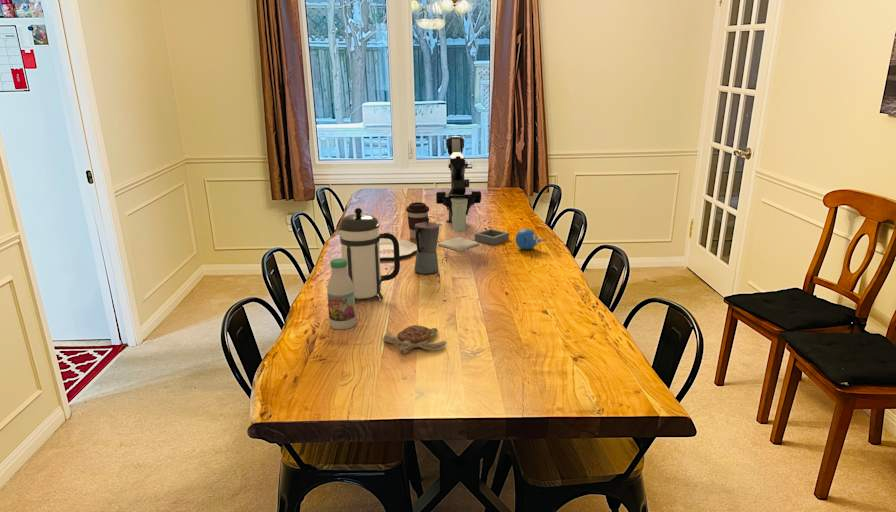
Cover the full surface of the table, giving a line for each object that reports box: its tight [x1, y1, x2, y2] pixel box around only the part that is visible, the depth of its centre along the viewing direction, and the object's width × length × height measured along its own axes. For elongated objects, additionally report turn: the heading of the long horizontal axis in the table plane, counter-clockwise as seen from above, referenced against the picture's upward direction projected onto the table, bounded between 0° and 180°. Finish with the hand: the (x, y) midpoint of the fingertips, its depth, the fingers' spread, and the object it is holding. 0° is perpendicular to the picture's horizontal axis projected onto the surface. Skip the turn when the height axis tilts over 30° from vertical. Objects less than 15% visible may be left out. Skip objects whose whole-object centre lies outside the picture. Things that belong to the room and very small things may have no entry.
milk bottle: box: [326, 257, 357, 330], centre depth 167 cm, size 8×8×20 cm
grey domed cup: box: [451, 197, 468, 233], centre depth 239 cm, size 9×7×13 cm
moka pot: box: [414, 217, 440, 275], centre depth 211 cm, size 10×15×20 cm, turn 161°
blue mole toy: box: [515, 228, 546, 251], centre depth 237 cm, size 12×12×8 cm
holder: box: [474, 228, 510, 246], centre depth 250 cm, size 10×10×3 cm
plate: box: [379, 238, 418, 260], centre depth 236 cm, size 25×25×2 cm
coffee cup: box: [405, 201, 430, 240], centre depth 253 cm, size 10×10×15 cm
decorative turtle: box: [382, 324, 447, 355], centre depth 159 cm, size 18×17×5 cm
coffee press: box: [334, 207, 401, 302], centre depth 187 cm, size 17×16×30 cm
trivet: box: [437, 236, 480, 252], centre depth 244 cm, size 12×12×1 cm
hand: (459, 214), depth 239 cm, fingers closed on grey domed cup, 6 cm apart
